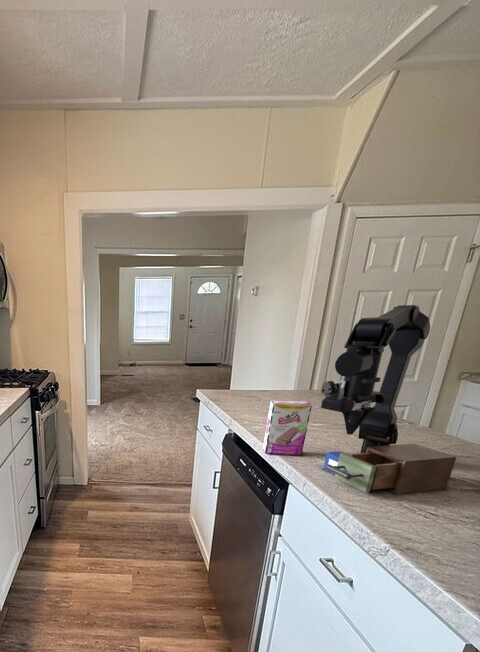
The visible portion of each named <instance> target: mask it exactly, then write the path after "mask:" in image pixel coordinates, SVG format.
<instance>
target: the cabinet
mask: <svg viewBox="0 0 480 652" xmlns="http://www.w3.org/2000/svg"><path fill="white" fill-rule="evenodd" d="M371 452H373V453H376V454H379V455H381V456H384V457H386V458H389V459H392V460H394V461H397V462H400V463H402V465H401V468H400V472H399V475H398V478H397V482H396V485H395V487H394V488H384V490H386V491H388V492H390V493H393V494H394V495H401V494H402V495H403V494H411V493H421V492H423V493H424V492H432V491H443V490H447V487H448V484H449V481H450V478H451V475H452V472H453V470H454V468H455V464H456V461H457V458H458V457H457V456H455V455H452V454H449V453H445V452H443V451H439V450H436V449H433V448H430V447H427V446H424V445H420V444H417V443H403V444H391V445H388V446H375V447H367V449H366V453H371Z"/></svg>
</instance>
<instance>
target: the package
mask: <svg viewBox="0 0 480 652" xmlns="http://www.w3.org/2000/svg"><path fill="white" fill-rule="evenodd" d="M340 453H345V454H347V453H346V452H343V451H340V450H339V451H328V452H326V455H325V459H324V464H323V470H324V471H327V472H329V473H331V474H332V475H335V474H334V473H332V472H330V471H328V470H327V469H326V466H327V465H332V466H337V464H338V460H339V455H340Z"/></svg>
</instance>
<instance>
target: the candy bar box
mask: <svg viewBox="0 0 480 652" xmlns="http://www.w3.org/2000/svg"><path fill="white" fill-rule="evenodd" d="M312 406H313V405H312V404H311V402H308V401H300V400H299V401H298V400H297V401H295V400H270V403H269V410H268V414H267V421H266V427H265V433H264V438H263V443H262V444H263V445H262V450H263V452H264V454H267V455H283V456H284V455H285V456H286V455H287V456H302V455H303V451H304V450H303V449H304V446H305V441H306V437H307V431H308V426H309V421H310V416H311V412H312Z"/></svg>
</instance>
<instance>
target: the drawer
mask: <svg viewBox="0 0 480 652" xmlns="http://www.w3.org/2000/svg"><path fill="white" fill-rule="evenodd" d="M345 453H346V452H344V453H340V455H339V460H338V464H337V466H332V465H327V466H326V469H327V470H328V471H327V470H326V471H327V472H329V471H330V472H329V473H331V472H332V473H331V474H333V473H334V474H333V475H334V478H335V479H336V480H339V481H341V482H343V483H345V484H347V485H349V486H351V487H353V488H355V489H357V490H359V491H361V492H362V493H364V494H368V493H370V492H371V490H372V491H374V490H383V489H384V488H394V487H395V485H396V482H397V478H398V475H399V472H400V468H401V465H402V463H400V462H397V461H394V460H392V459H389V458H386V457H384V456H381V455H379V454H376V453H373V452H371V453H360V452H358V453H350V454H348V453H346V454H345ZM384 490H385V489H384Z"/></svg>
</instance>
